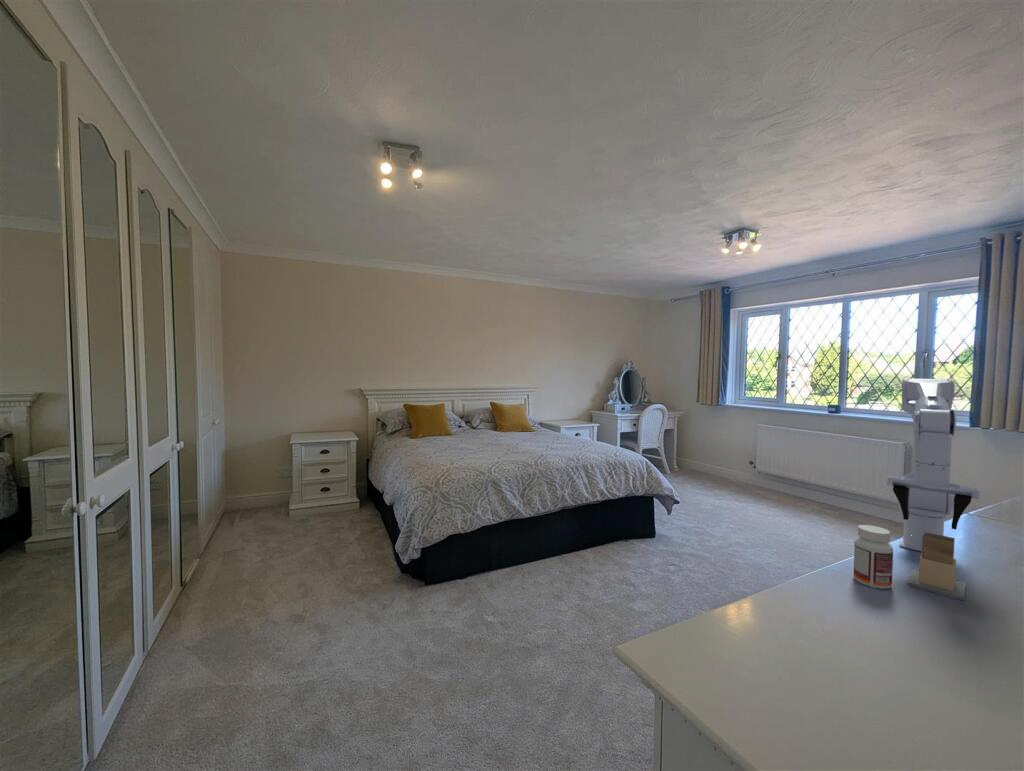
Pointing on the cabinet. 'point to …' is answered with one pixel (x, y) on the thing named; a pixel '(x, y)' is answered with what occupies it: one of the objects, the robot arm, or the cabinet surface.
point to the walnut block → (938, 548)
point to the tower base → (936, 589)
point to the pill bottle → (873, 557)
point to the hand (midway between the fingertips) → (929, 523)
